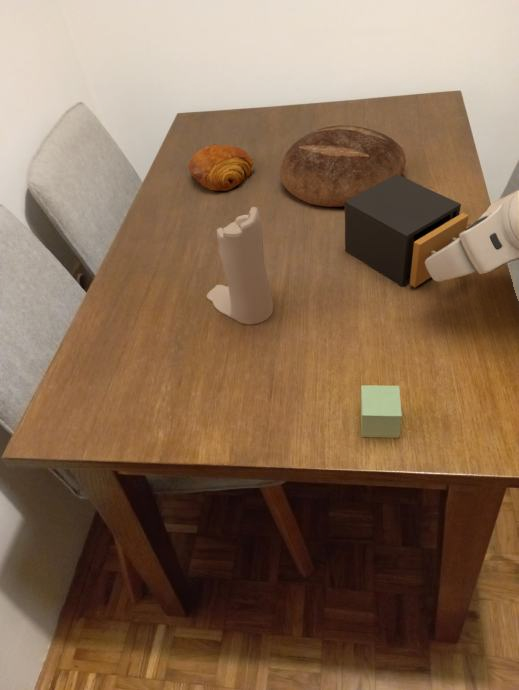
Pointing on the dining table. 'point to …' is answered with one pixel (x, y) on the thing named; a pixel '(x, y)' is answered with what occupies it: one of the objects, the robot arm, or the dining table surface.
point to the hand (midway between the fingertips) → (451, 252)
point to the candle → (243, 272)
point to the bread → (339, 164)
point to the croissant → (220, 166)
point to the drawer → (432, 245)
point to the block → (380, 411)
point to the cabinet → (392, 223)
